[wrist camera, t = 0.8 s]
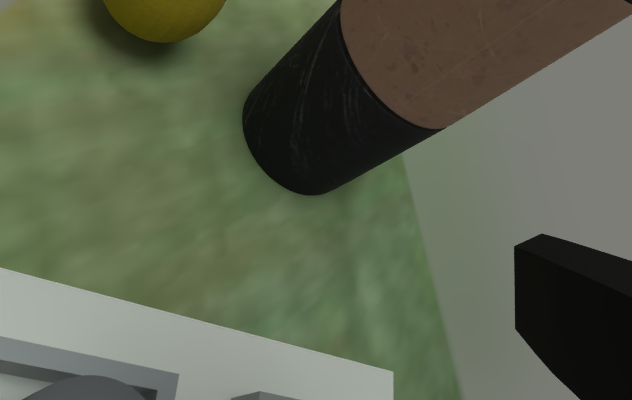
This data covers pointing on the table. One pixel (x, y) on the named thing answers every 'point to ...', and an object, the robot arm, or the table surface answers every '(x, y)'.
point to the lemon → (164, 17)
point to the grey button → (87, 390)
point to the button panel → (158, 351)
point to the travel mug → (401, 78)
